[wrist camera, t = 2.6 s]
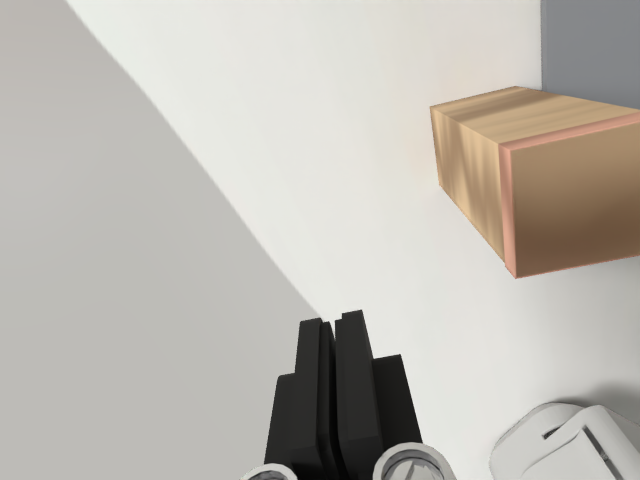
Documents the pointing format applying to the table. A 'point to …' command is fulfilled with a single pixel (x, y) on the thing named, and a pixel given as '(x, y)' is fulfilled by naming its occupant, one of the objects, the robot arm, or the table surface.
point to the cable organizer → (568, 446)
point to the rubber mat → (592, 50)
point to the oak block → (543, 176)
